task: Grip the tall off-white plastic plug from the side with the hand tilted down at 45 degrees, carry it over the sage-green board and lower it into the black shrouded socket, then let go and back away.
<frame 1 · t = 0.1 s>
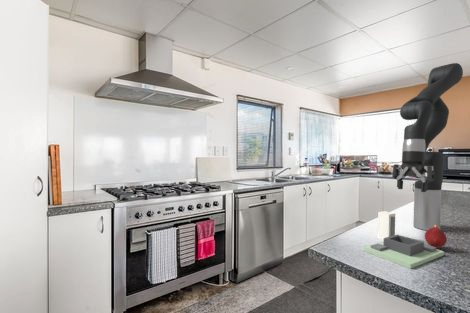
hand: (411, 190, 99), 17 cm above the counter, tool pointing down, fingers open, 8 cm apart
plug: (386, 239, 92), on the counter
board: (403, 252, 79), on the counter
onion: (435, 249, 83), on the counter
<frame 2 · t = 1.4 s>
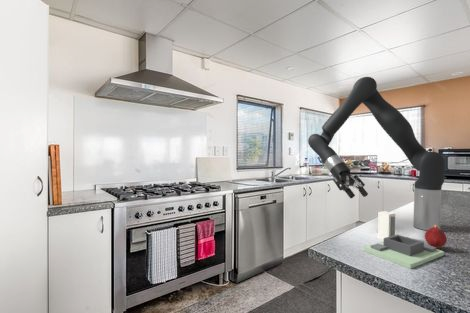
hand: (359, 196, 101), 14 cm above the counter, tool tilted 45°, fingers open, 8 cm apart
nothing on the counter moved.
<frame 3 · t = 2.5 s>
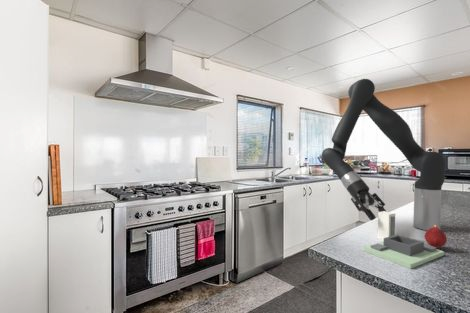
hand: (380, 217, 94), 7 cm above the counter, tool tilted 45°, fingers open, 8 cm apart
nothing on the counter moved.
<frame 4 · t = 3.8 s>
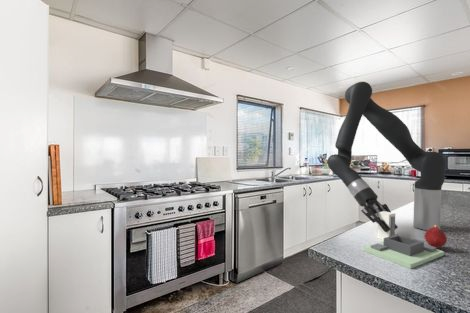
hand: (391, 229, 90), 4 cm above the counter, tool tilted 45°, fingers closed on plug, 4 cm apart
plug: (386, 239, 92), on the counter, touching gripper
everything else where it was.
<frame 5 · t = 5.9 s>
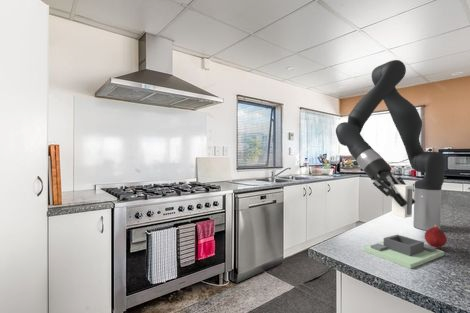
hand: (408, 204, 78), 16 cm above the counter, tool tilted 45°, fingers closed on plug, 4 cm apart
plug: (401, 215, 80), point 12 cm above the counter, touching gripper
everything else where it was.
when the fingers open (7 cm above the counter, at t = 8.0 s): plug drops 2 cm, resting on board.
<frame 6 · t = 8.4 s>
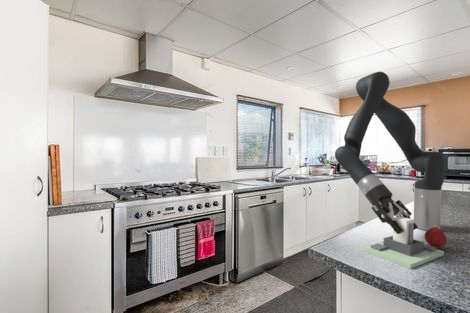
hand: (408, 230, 78), 8 cm above the counter, tool tilted 45°, fingers open, 8 cm apart
plug: (402, 249, 79), point 1 cm above the counter, touching board
everything else where it was.
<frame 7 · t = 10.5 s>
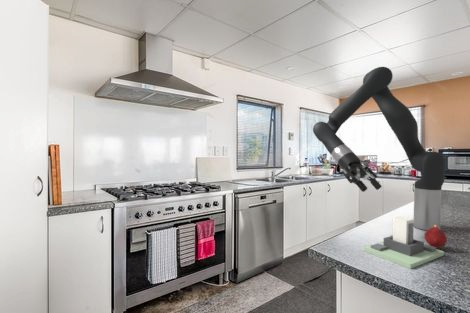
hand: (372, 189, 91), 19 cm above the counter, tool tilted 45°, fingers open, 8 cm apart
nothing on the counter moved.
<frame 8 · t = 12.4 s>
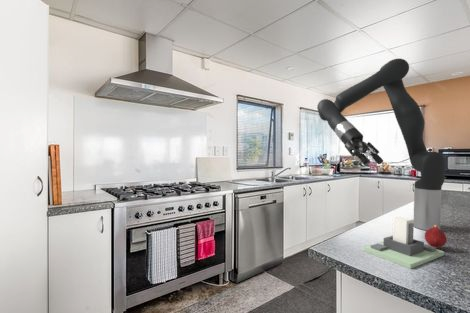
hand: (374, 162, 92), 29 cm above the counter, tool tilted 45°, fingers open, 8 cm apart
nothing on the counter moved.
at the end: plug 0.1 cm off-centre on the board, point 1.2 cm above the board's base; plug tilted 0°; the gripper is holding nothing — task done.
